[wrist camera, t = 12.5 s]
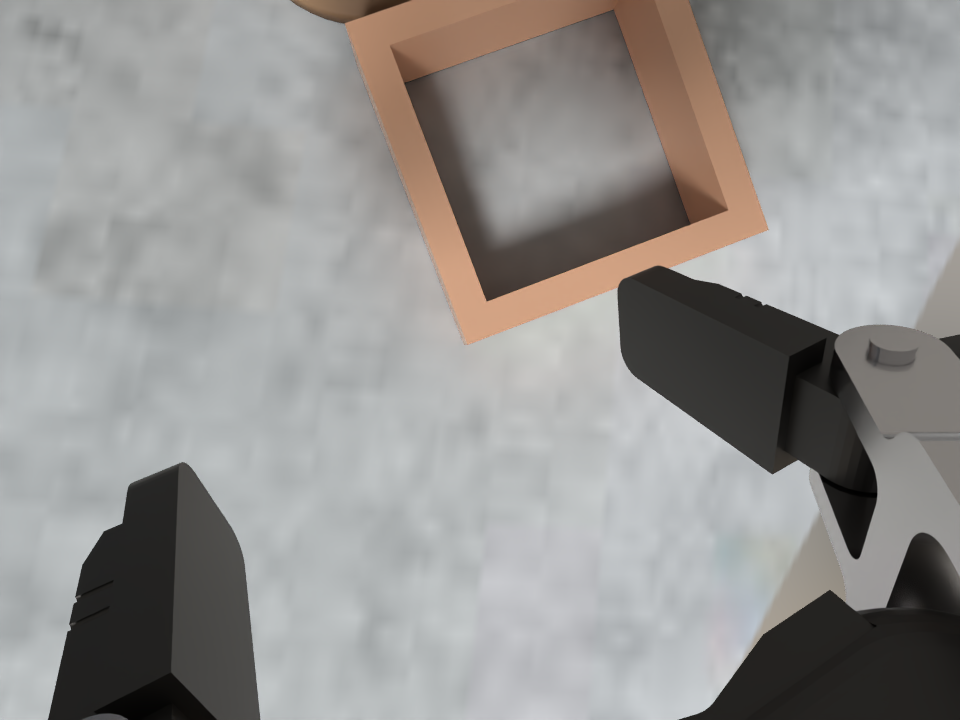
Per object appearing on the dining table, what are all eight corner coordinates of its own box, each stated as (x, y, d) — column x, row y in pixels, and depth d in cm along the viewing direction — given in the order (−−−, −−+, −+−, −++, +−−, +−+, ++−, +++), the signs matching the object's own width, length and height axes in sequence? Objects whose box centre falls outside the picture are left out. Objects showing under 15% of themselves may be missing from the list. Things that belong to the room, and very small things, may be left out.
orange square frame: (464, 344, 19) (467, 344, 16) (357, 67, 18) (344, 23, 16) (726, 244, 19) (768, 229, 17) (630, -28, 19) (659, -85, 16)
